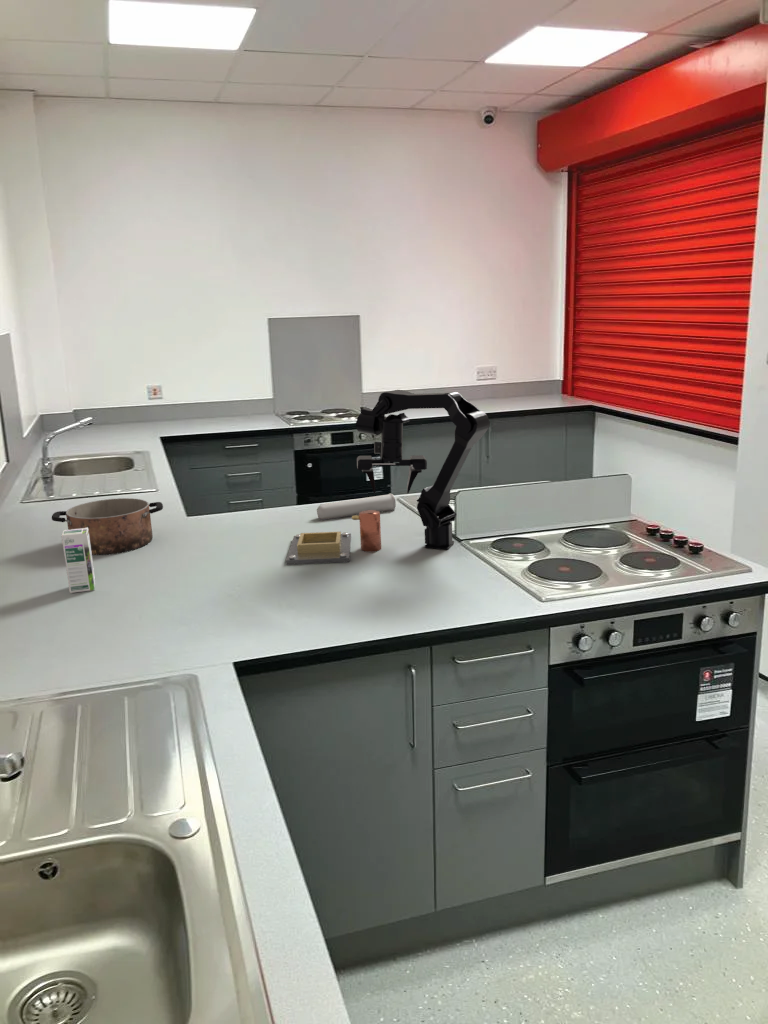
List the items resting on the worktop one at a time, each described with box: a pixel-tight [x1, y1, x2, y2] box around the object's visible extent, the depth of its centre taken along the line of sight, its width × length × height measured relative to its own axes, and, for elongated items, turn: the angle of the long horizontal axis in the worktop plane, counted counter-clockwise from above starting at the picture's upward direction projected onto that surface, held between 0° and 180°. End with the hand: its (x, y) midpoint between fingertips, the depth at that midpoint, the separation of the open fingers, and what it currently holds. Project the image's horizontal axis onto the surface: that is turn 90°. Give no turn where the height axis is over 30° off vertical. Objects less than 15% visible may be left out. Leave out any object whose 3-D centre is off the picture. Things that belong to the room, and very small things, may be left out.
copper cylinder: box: [351, 510, 382, 553], centre depth 219 cm, size 8×6×10 cm
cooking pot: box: [51, 497, 164, 556], centre depth 233 cm, size 30×22×11 cm
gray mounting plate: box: [285, 531, 352, 566], centre depth 220 cm, size 16×22×4 cm
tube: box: [316, 493, 397, 521], centre depth 255 cm, size 5×5×25 cm
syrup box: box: [61, 527, 96, 594], centre depth 196 cm, size 6×6×14 cm
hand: (391, 493), depth 226 cm, fingers open, 9 cm apart
